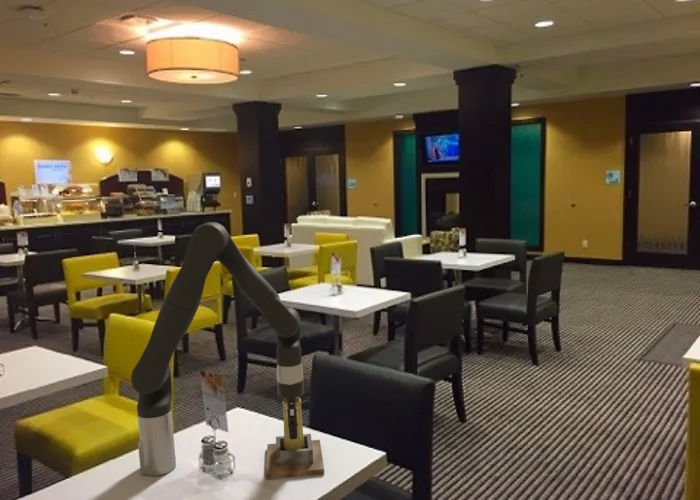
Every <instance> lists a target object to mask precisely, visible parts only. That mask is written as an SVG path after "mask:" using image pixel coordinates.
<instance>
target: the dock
mask: <svg viewBox="0 0 700 500" xmlns="http://www.w3.org/2000/svg"><path fill="white" fill-rule="evenodd" d="M303 436H304V443H305V446H304V448H302V449H296V450H286V449H284V435H279V436H275V443H268V444H267V446H266V447H267V449H266V450H267V451H266V466H265V467H266V468H265V470H266V471H265V472H266V473H265V475H266V476H265V477H266V480H267V481H268V480H277V479H285V478H287V479H288V478H297V477H308V476H317V475H319V476H320V475H325V466H324V458H323V453H322V452H323V451H322V447H321V446H322V445H321V440H320V439H312V435H311V433H305V434H304V433H303Z"/></svg>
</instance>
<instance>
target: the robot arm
mask: <svg viewBox="0 0 700 500" xmlns="http://www.w3.org/2000/svg"><path fill="white" fill-rule="evenodd" d="M189 239H190V240H189V243H188V246H187V249H186V250H187V251H186V252H185V255H184V259H183V261H182V265H181V267H180V269H179V271H178V273H177V274H176V275H175V278H174V280H173V281H172V283H171V286H170V288H169V289H168V292H167V294H166V295H165V297H164V300H163V302H162V305H161V307H160V310H159V312H158V314H157V317H156V320H155V323H154V325H153V328H152V331H151V335H150V337H149V340H148V342H147V345H146V347H145V348H144V350H143V353H142V354H141V356H140V357H139V360H138V361H137V363H136V364H135V366H134V367H133V368H132V372H131V374H130V382H131V386H132V388H133V389H134V391H135V392H137V393H138V400H137V405H136V413H137V423H138V424H137V425H138V432H139V433H138V434H139V440H138V443H137V447H138V457H139V467H140V475H145V476H146V475H147V476H151V477H157V476H163V475H166V474H169V473H170V472H172V471H173V470H174V469H175V468H176V466H177V461H176V460H177V458H176V450H175V449H176V448H175V439H174V438H175V437H174V425H173V424H174V423H173V413H172V399H173V387H172V386H173V384H172V371H171V365H170V362H171V359H172V357H173V354H174V353H175V351H176V349H177V348H178V346H179V344H180V343H181V341H182V340H183V338H184V336H185V334H186V333H187V332H188V330H189V328H190V327H191V324H192V322H193V320H194V318H195V316H196V314H197V311H198V309H199V306H200V304H201V301H202V298H203V293H204V289H205V285H206V284H205V283H206V280H207V278H208V275H209V273H210V271H211V270H212V267H213V265H214V264H215V262H216V260H217V261H218V262H219V263H220V264H221V265H222V266H223V267H224V268H225V269H226V271H228V273H229V274H230V276H231V277H232V278H233V280H234V282H235V284H237V286H238V288H239V289H240V291H241V292H242V293H243V295H244V296H245V297H246V298H247V299H248V300H249V302H250V303H251V304H252V305H253V306H254V307H256V309H257V310H258V311H259V312H260V314H262V315H263V318H264V319H265V321H266V322H267V323H268V325H269V327H271V329H272V330H273V331H274V332H275V333H276V335H277V338H276V339H277V345H276V351H275V352H276V384H277V387H276V388H277V395H278V396H279V397H280V398H283V399H284V398H287V399H285V403H288V408H287V406H286V404H285V408H286V418H287V419H288V427H289V437H290V439H297V426H298V424H297V418H298V407H299V404H298V406H297V407H296V402H298V398H296V397H299V398H300V397H301V396H302V395H303V394H304V393H305V386H304V385H305V383H304V369H303V362H302V347H301V316H300V313H298V311H297V310H296V309H294V308H292V307H287V306H286V305H285V304H284V303H283V302H282V301H281V298H280V295H279V294H278V292H277V290H275V289H274V287H273V286H271V284H270V283H269V282H268V281H267V280H266V279H265V278H264V277H263V276H262V274H260V272H258V271H257V269H256V268H255V267H254V266H253V265H252V264H251V262H249V260H248V259H247V258H246V257H245V256H244V254H243V252H241V250H240V248H238V246H237V244H236V243H235V242H234V239H233V238H232V237H231V235H230V234H229V232H228V231H227V229H226V227H224V225H222V224H220V223H218V222H217V221H208V222H205V223H203V224H200V225H198V226H197V227H196V228H195V229H194V230H193V232H192V235H191V236H190V238H189ZM290 414H291V415H290ZM290 421H295V422H293V423H290Z"/></svg>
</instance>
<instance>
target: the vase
mask: <svg viewBox="0 0 700 500" xmlns="http://www.w3.org/2000/svg"><path fill="white" fill-rule="evenodd" d="M296 398H298V402H296V407H297V406H298V404H299V407H298V418H297V424H298V426H297V439H290V437H289V427H288V419H287V418H286V408H285V404H286V406H287V408H288V403H285V399H287V398H283V399H282V412H283V413H282V414H283V436H284V449H286V450H296V449H302V448H304V446H305V443H304V436H303V434H304V427H303V425H304V424H303V415H302V399H301V398H300V396H299V397H296ZM290 415H291V414H290ZM293 422H295V421H290V423H293Z"/></svg>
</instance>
